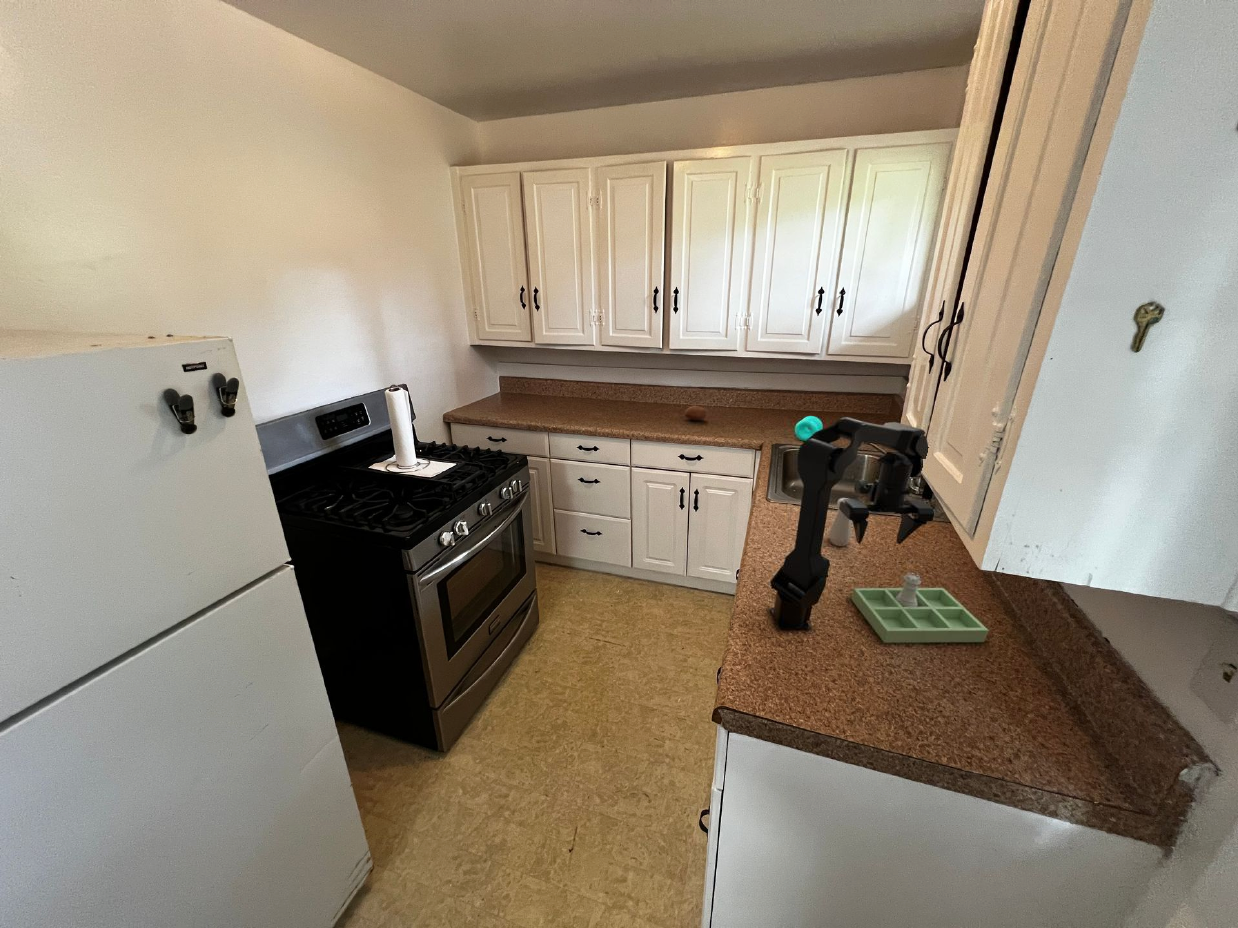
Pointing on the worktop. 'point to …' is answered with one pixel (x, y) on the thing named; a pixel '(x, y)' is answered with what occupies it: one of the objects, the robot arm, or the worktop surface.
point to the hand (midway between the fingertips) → (878, 542)
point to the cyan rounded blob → (803, 431)
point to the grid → (918, 616)
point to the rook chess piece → (909, 591)
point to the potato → (695, 413)
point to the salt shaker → (840, 528)
